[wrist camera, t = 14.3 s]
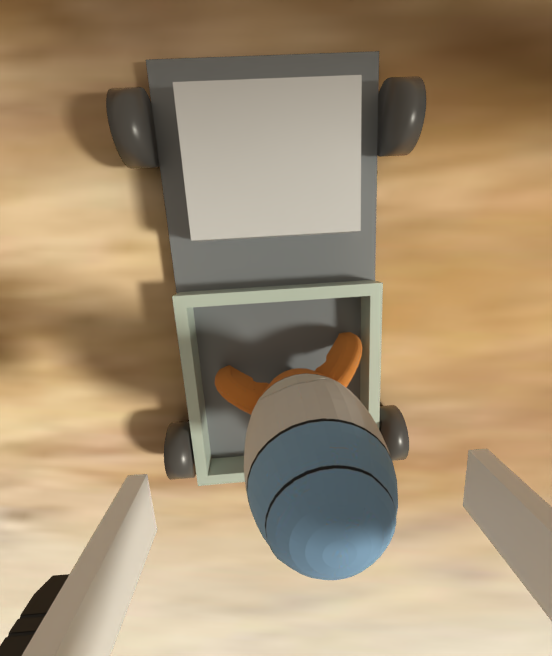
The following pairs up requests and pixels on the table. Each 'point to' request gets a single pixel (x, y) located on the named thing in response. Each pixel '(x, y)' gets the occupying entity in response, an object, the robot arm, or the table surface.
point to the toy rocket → (316, 465)
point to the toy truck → (268, 225)
